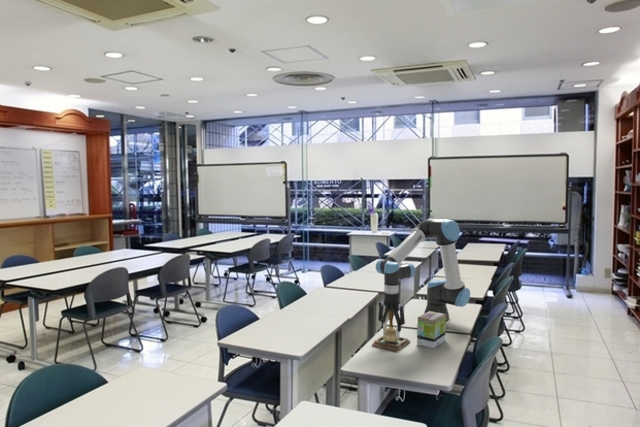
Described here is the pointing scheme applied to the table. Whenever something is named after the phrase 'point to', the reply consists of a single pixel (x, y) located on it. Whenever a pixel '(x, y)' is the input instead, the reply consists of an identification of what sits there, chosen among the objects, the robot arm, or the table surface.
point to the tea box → (431, 329)
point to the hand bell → (390, 330)
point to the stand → (391, 344)
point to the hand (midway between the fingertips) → (391, 336)
